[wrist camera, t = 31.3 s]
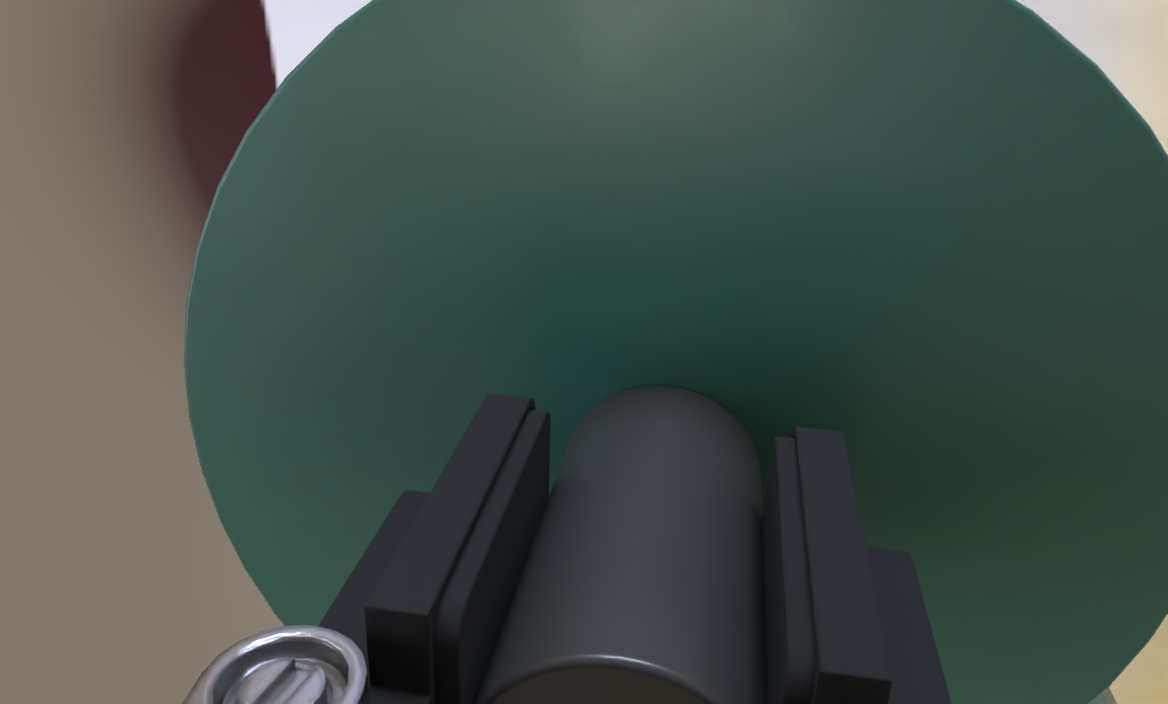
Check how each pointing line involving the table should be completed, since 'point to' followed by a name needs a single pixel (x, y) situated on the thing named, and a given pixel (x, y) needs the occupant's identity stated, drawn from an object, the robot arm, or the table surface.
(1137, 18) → the table surface
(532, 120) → the lid
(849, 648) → the robot arm
